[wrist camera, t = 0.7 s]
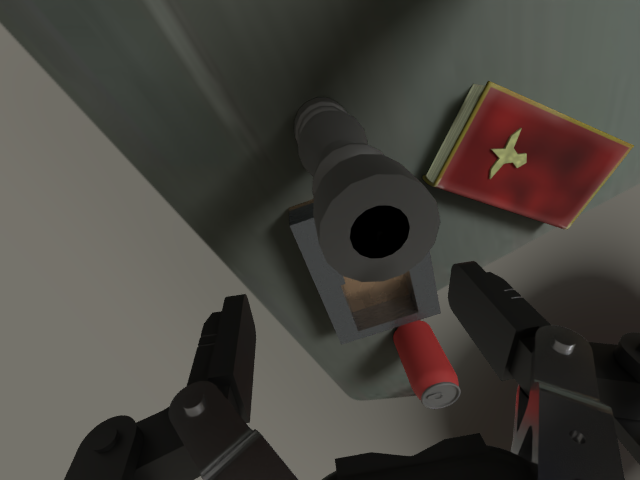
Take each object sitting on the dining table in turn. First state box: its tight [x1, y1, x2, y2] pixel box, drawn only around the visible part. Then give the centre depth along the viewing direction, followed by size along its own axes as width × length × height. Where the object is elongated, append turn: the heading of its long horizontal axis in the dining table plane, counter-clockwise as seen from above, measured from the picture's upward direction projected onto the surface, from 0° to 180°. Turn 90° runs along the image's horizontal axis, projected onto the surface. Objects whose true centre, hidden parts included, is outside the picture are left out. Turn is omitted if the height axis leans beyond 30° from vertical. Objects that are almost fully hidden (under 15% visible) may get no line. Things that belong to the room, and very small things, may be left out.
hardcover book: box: [422, 81, 634, 229], centre depth 39 cm, size 12×21×4 cm, turn 71°
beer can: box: [393, 320, 460, 409], centre depth 50 cm, size 7×7×12 cm
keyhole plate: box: [289, 199, 441, 344], centre depth 43 cm, size 15×21×5 cm
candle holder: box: [294, 97, 440, 282], centre depth 26 cm, size 6×6×25 cm
